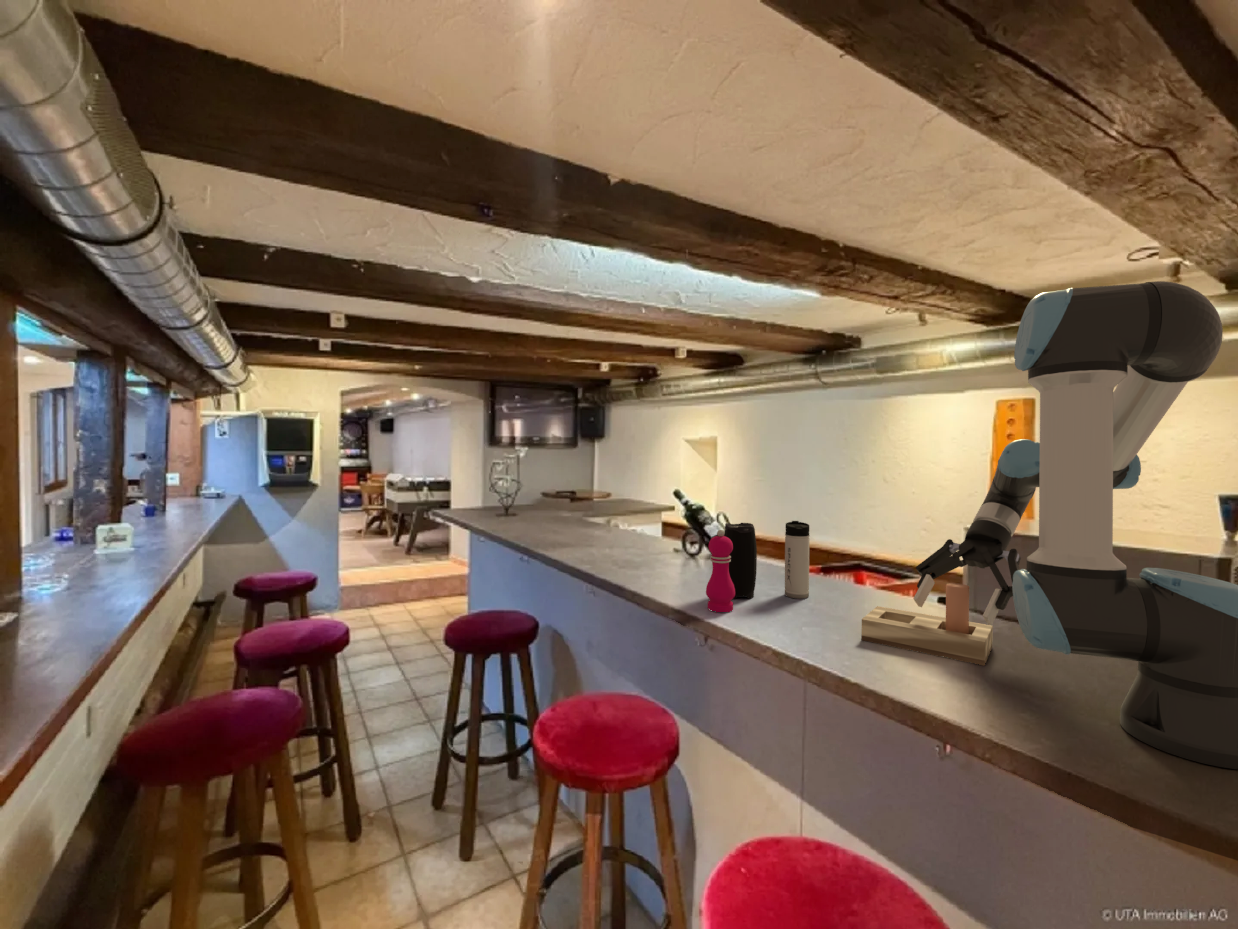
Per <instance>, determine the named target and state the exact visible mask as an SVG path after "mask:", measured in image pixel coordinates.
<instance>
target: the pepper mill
mask: <svg viewBox="0 0 1238 929" xmlns="http://www.w3.org/2000/svg"><path fill="white" fill-rule="evenodd" d="M724 533H725V530H723V529H718V531H717V532H716V534H717V535H715V536H713V537H711V538H710V540H709V542H708V550H709V552H710V553H711V555H710V562H712V564H711V565H712V570H711V575H710V577H709V580H708V582H707V584H706V588H705V595H706V596H707V598H708V599H709V600H708V601H707V609H708V608H709V609H710V610H712V611H716V612H715V613H717V612H728V613H731V612H733V611H734V602H733V600H734V599H733V598H734V596H735V588H734V584H733V582H732V580H731V578H730V575H729V562H731V560H730V558H731V556H730V553H731V552H732V550H733V544H732V541H731V540H730V539H729V538H728V537H725V536H724ZM709 609H708V610H709ZM710 610H709V611H710ZM732 610H733V611H732ZM712 611H711V612H712ZM730 611H731V612H730Z"/></svg>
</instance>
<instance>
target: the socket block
mask: <svg viewBox="0 0 1238 929" xmlns="http://www.w3.org/2000/svg"><path fill="white" fill-rule="evenodd" d="M993 627H994V626H993V624H992V625H989V624H987V623H986V624H985V623H978V622H973V621H969V634H964V633H959V632H953V631H948V630H946V616H945V617H943V616H938V615H933V614H926V613H920V612H916V611H915V612H914V611H908V610H903V609H898V608H897V609H896V608H891V607H887V606H878V605H877V606H876V607H875V608H873V609H872V610H871V611H869V613H866V614H865V616H863V617H862V618H861V635H860V636H861V641H863V642H864V641H865V642H869V643H874V644H877V645H882V644H883V646H887V645H888V646H889V647H893V648H897V649H903V650H907V651H911V650H913V652H916V651H918V652H917V653H921V652H923V653H922V654H925V653H927V654H926V655H930V654H931V655H932V656H936V657H940V656H944V657H943V658H945V657H948V658H947V659H949V658H952V659H951V660H954V659H956V661H959V660H960V661H961V662H964V663H969V662H971V663H970V664H973V663H975V665H978V664H979V666H985V665H986V664H985V663H987V661H988V659H989V657H988V656H990V654H991V652H992V649H993V636H994V635H993V634H994V633H993V631H994V630H993V629H994V628H993ZM888 646H887V647H888ZM990 651H991V652H990ZM960 661H959V662H960Z"/></svg>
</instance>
